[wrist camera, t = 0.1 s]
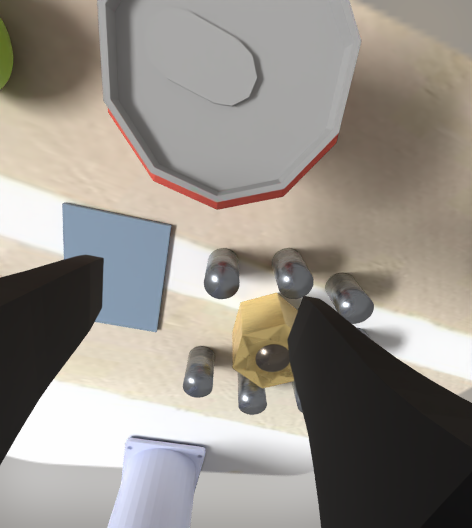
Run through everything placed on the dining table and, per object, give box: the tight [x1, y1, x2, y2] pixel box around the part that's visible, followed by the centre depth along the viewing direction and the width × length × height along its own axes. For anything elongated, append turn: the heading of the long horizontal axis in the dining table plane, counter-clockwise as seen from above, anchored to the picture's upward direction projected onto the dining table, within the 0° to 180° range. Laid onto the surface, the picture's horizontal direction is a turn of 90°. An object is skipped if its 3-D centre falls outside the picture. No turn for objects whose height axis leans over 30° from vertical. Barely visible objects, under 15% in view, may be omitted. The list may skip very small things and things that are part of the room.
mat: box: [62, 203, 172, 332], centre depth 21 cm, size 9×7×1 cm
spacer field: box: [183, 248, 374, 415], centre depth 22 cm, size 13×14×3 cm
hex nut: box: [233, 293, 298, 388], centre depth 21 cm, size 6×5×4 cm
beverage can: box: [97, 0, 361, 210], centre depth 11 cm, size 6×6×12 cm
